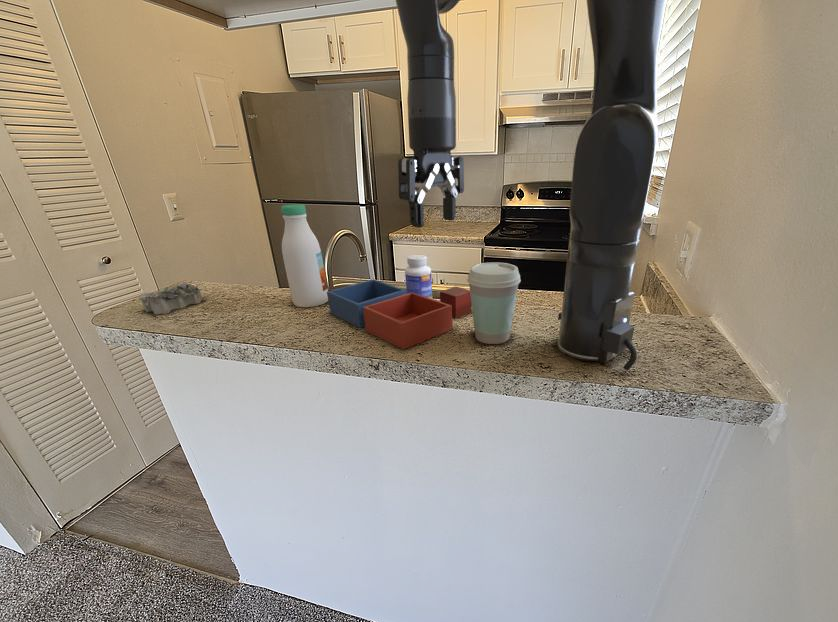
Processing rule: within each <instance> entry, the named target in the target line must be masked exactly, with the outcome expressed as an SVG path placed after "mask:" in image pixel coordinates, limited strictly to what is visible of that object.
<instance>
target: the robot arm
mask: <svg viewBox="0 0 838 622" xmlns="http://www.w3.org/2000/svg"><path fill="white" fill-rule="evenodd" d="M460 1H461V0H395V3H396V4H395V5H396V8H397V9H396V10H397V12H398V17H399V21H400V27H401V30H402V33H403V37H404V41H405V45H406V56H407V57H406V61H407V97H406V98H407V99H406V100H407V101H406V102H407V103H406V104H407V122H408V123H407V125H408V146H409V149H410V150H411V151H413V157H412V158H403V157H402V158H399V159H398V160H397V161H398V162H397V164H398V165H397V166H398V167H397V169H398V172H397V173H398V198H399V199H400V200H402V201H406V202H407V203H408V205H409V221H410V224H411V226H412V227H414V228H423V227H424V226H425V225H424V222H425V219H424V218H425V217H424V203H423V202H424V199H425V196H426V194H427V193H428V192H429V191H430V190H431V188H433V187H437V188H439V189H440V191H441V193H442V195H443V198H442V218H443V220H445V221H454V220H455V219H456V213H457V212H456V206H457V205H456V204H457V203H456V200H457V198H458V196H459V194H463V193H464V191H465V176H464V175H465V173H464V172H465V168H464V166H465V165H464V163H465V162H464V156H462V155H452V153H451V151H453V150H455V149H456V145H457V144H456V143H457V142H456V141H457V97H456V96H457V95H456V88H455V87H456V86H455V43H454V39H453V37H452V35H451V34H450V33H449V32H448V31H447V30H446V29H445V28H444V27H443V25H442V22H441V18H440V15H443V14H446V13H449V12H451V11H452V10H453V9H454V8H455V7H456V6H457V5H458V4H459V3H460ZM667 2H668V0H586V9H587V17H588V25H589V26H588V27H589V32H590V39H591V46H592V54H593V55H592V56H593V88H592V99H591V100H592V102H591V109H590V110H591V111H590V117H589V118H588V119H587V120H586V121H585V123H584V124H583V126H582V128H581V130H580V132H579V135H578V136H577V141H576V144H575V150H574V156H573V166H572V167H573V168H572V175H571V176H572V177H571V189H570V201H569V220H570V230H569V231H570V232H569V240H568V250H567V259H566V267H565V277H564V283H563V284H564V286H563V295H562V303H561V311H560V312H559V313H558V315H557V316H558V317H557V321H560V323H559V331H558V339H557V345H556V346H557V348H558V350H559V351H560V352H561V353H563V354H564V355H566V356H568V357H570V358H573V359H578V360H581V361H588V362H589V361H590V362H599V363H602V364H607V363H608V362H609V361H611V360H612V359H614V358H616V357H617V356H618V355H620V354H621V353H623V352H624V351H625V350H626V349H628V351H629V353H630V358H629V359H628V361H627V362H626V363H625V364H624V365H623V369H624V370H625V371H630V369H631V368H632V366H633V365H634V364H635V363H636V361H637V359H638V353H637V350H636V348H635V346H634V344H633V343H632V342H633V336H634V331H635V325H632V324H630V321H631V316H632V310H633V306H634V301H635V295H636V294H635V292H634V291H631V286H632V282H633V281H632V280H633V276H634V270H635V265H636V261H637V254H638V250H639V243H640V240H641V235H642V229H643V225H644V218H645V212H646V204H647V199H648V194H649V190H650V189H649V188H650V185H651V184H650V183H651V179H652V172H653V168H654V162H655V158H656V153H657V150H658V146H659V140H660V139H659V138H660V131H659V126H658V125H659V124H658V101H657V100H658V99H657V98H658V97H657V90H658V89H657V87H658V86H657V85H658V84H657V83H658V82H657V81H658V78H657V76H658V57H659V56H658V55H659V48H660V47H659V46H660V42H661V41H660V40H661V35H662V29H663V25H664V19H665V14H666V8H667V7H666V6H667ZM456 180H457V185H456Z"/></svg>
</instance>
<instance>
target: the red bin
mask: <svg viewBox="0 0 838 622" xmlns="http://www.w3.org/2000/svg"><path fill="white" fill-rule="evenodd" d="M363 313H364V320H365V327H364V328H365V331H366V332H368V333H370V334H371V335H373V336H376V337H378V338H380V339H381V340H383V341H386V342H387V343H390V344H391V345H394V346H396V347H398V348H399V349H400V348H401V349H402V350H405V349H408V348H410V347H413V346H416V345H418V344H421V343H423V342H426V341H427V340H430V339H433V338H435V337H438V336H440V335H442V334H445V333H448V332H450V331H452V330H453V317H452V305H449V304H446V303H443V302H440V300H437V299H431V298H428V297H425V296H422V295H419V294H416V293H413V292H411V293H407V292H406V294H404V295H401V296H398V297H394V298H391V299H388V300H384V301H381V302H378V303H375V304H371V305H368V306H365V307H363Z"/></svg>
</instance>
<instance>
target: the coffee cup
mask: <svg viewBox="0 0 838 622" xmlns="http://www.w3.org/2000/svg"><path fill="white" fill-rule="evenodd" d="M466 279H467V283H468V286H469V290H470V294H471V303H472V312H471V313H472V321H473V327H474V328H473V329H474V336H475V339H476V340H477V341H478V342H480V343H483V344H487V345H499V344H503V343H506V342H507V341H508V340H509V339H510V336H511V330H512V324H513V319H514V313H515V307H516V301H517V295H518V289H519V285H520V283H521V282H522V280H521V274H520V272H519V268H518V266H517V265H515V264H511V263H508V262H496V261H495V262H481V263H477V264H474V265H472V266H471V267H470V270H469V273H468V275H467V278H466Z"/></svg>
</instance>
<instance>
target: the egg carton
mask: <svg viewBox="0 0 838 622" xmlns="http://www.w3.org/2000/svg"><path fill="white" fill-rule="evenodd" d="M201 291H203V288H199V287H198V286H195V285H193V284H191V283H190V284H189V283H188V282H186V281H183V282H181V283H180V284H177V285H176V286H175V285H174V286H171V287H165V288H164V289H162V290H157V291H156V292H155V291H154V292H145V293H143V294H141V295H140V296H139V298H138V301H141V303H142V306H143V308H144V310H145V312H147V313H150V312H153V314H154V315H163V314H164V315H165V314H170V313H171V311H173V310H181V309H184V308H187V306H190V305H197V304H200V303H202V301H203V296H202V294H201Z"/></svg>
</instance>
